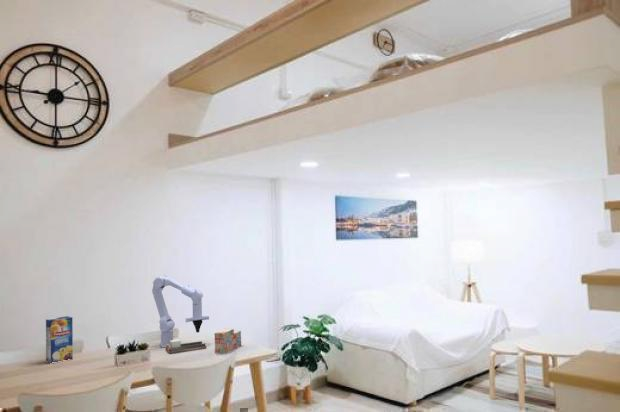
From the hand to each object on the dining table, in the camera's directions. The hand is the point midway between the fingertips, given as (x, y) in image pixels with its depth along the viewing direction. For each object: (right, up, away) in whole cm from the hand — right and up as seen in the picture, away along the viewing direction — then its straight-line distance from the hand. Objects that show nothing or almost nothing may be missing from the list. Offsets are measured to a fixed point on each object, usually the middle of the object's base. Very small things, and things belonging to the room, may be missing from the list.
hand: (197, 332), depth 306 cm
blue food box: (-73, -10, -27) cm, 79 cm away
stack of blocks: (+22, -8, -12) cm, 26 cm away
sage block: (-11, -7, -12) cm, 18 cm away
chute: (-5, -8, -9) cm, 13 cm away
